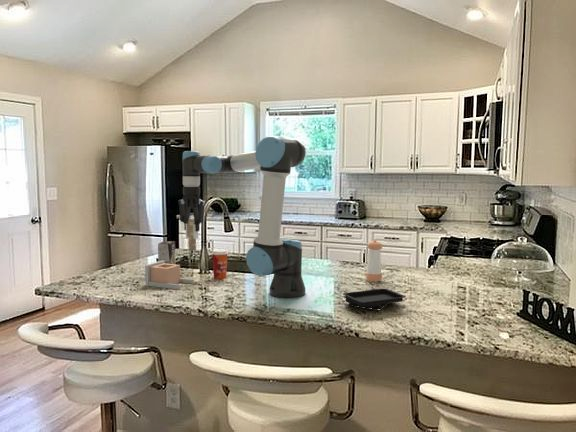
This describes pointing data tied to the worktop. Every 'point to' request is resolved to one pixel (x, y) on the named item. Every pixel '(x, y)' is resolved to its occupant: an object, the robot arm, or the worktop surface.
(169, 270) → the block
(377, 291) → the tray
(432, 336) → the worktop surface
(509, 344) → the worktop surface
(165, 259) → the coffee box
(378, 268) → the pepper shaker
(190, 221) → the dowel
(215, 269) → the paper cup
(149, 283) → the mat with wall
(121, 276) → the worktop surface
